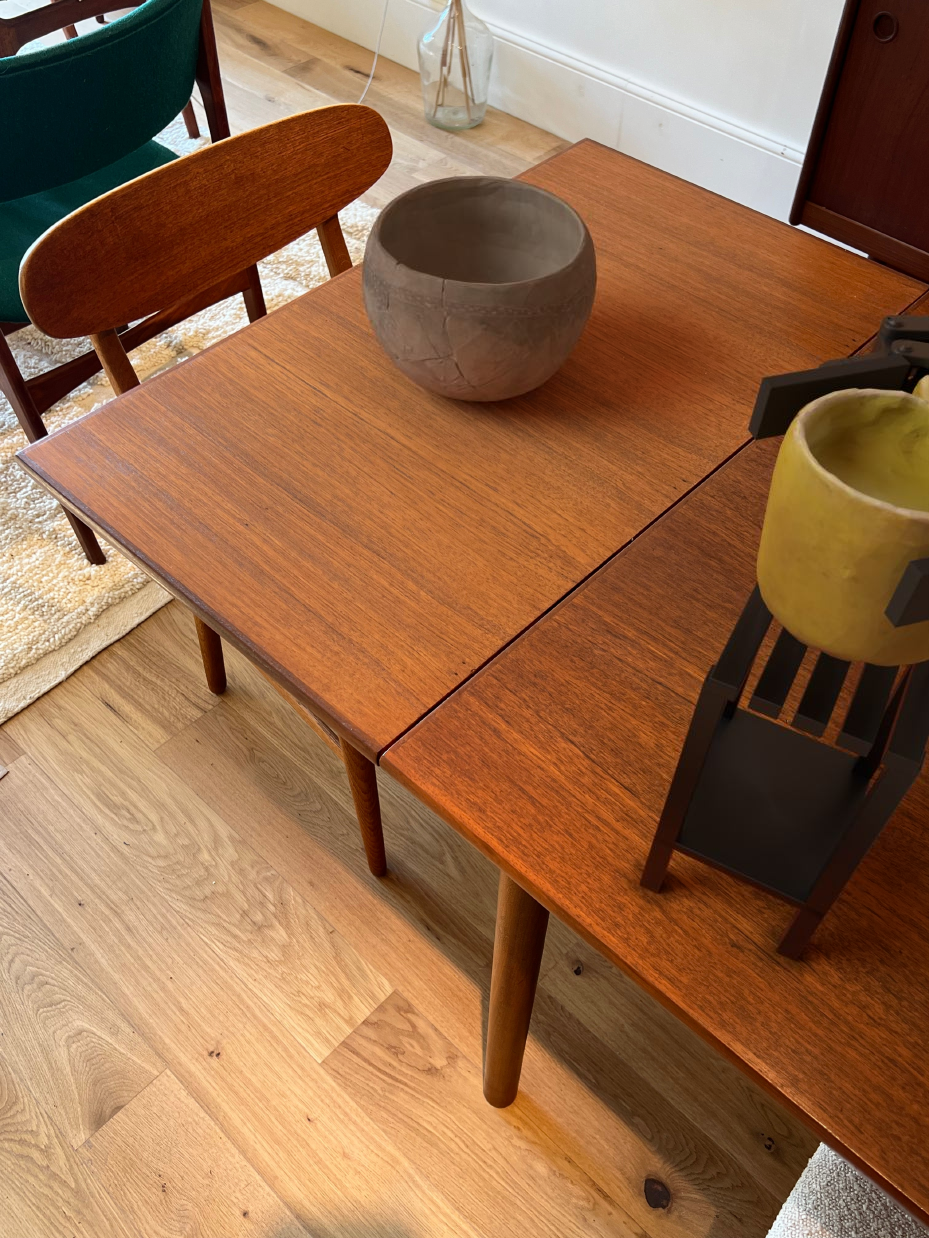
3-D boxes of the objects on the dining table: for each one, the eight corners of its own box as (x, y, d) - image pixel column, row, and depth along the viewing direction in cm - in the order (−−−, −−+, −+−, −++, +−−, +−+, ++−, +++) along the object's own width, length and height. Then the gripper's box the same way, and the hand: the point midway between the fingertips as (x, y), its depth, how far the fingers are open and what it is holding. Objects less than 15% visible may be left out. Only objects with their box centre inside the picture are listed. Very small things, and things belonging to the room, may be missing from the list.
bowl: (591, 442, 89) (612, 289, 77) (359, 437, 89) (346, 284, 78) (578, 313, 103) (594, 167, 91) (377, 308, 103) (368, 163, 91)
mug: (957, 732, 36) (1002, 472, 31) (707, 652, 43) (713, 426, 38) (1059, 600, 44) (1108, 374, 39) (834, 549, 50) (852, 350, 45)
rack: (844, 817, 64) (974, 598, 48) (794, 963, 58) (925, 766, 42) (700, 754, 67) (778, 529, 51) (637, 886, 61) (704, 675, 45)
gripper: (1457, 657, 38) (959, 791, 34) (1069, 333, 53) (684, 399, 49) (1631, 515, 33) (1061, 654, 29) (1144, 195, 47) (716, 256, 43)
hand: (824, 494), depth 39 cm, fingers closed on mug, 10 cm apart
